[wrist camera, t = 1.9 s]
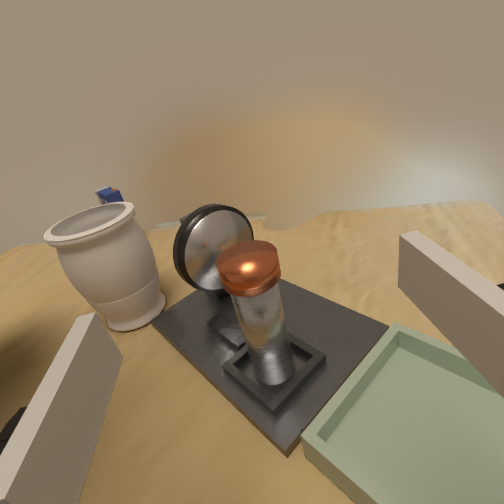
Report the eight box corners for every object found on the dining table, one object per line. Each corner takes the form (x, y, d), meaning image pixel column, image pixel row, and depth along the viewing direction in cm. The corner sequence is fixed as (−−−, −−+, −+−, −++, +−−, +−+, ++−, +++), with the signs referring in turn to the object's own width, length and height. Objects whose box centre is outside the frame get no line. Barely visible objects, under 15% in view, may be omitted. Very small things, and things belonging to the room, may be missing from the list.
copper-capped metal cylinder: (240, 370, 31) (203, 262, 24) (273, 340, 33) (248, 235, 27) (274, 398, 27) (243, 282, 21) (308, 363, 30) (289, 249, 23)
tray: (305, 456, 24) (300, 435, 22) (393, 343, 31) (394, 321, 29) (548, 681, 14) (568, 670, 12) (595, 439, 21) (612, 413, 19)
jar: (184, 287, 47) (148, 196, 40) (152, 339, 39) (98, 236, 31) (126, 289, 50) (82, 205, 43) (84, 338, 42) (20, 243, 34)
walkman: (142, 241, 65) (118, 188, 59) (130, 247, 64) (104, 193, 58) (129, 233, 71) (106, 184, 65) (117, 238, 69) (93, 188, 64)
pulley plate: (152, 326, 41) (108, 238, 34) (241, 266, 49) (220, 185, 42) (287, 457, 24) (251, 335, 17) (388, 333, 32) (391, 216, 25)
